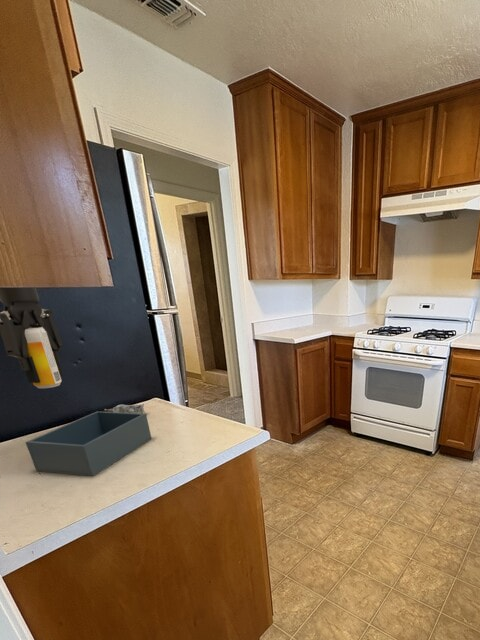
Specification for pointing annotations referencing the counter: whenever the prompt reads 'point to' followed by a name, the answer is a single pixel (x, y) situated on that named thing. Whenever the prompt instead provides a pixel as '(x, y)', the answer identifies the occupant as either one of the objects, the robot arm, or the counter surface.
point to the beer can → (42, 357)
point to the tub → (89, 443)
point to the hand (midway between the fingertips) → (46, 379)
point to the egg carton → (127, 409)
